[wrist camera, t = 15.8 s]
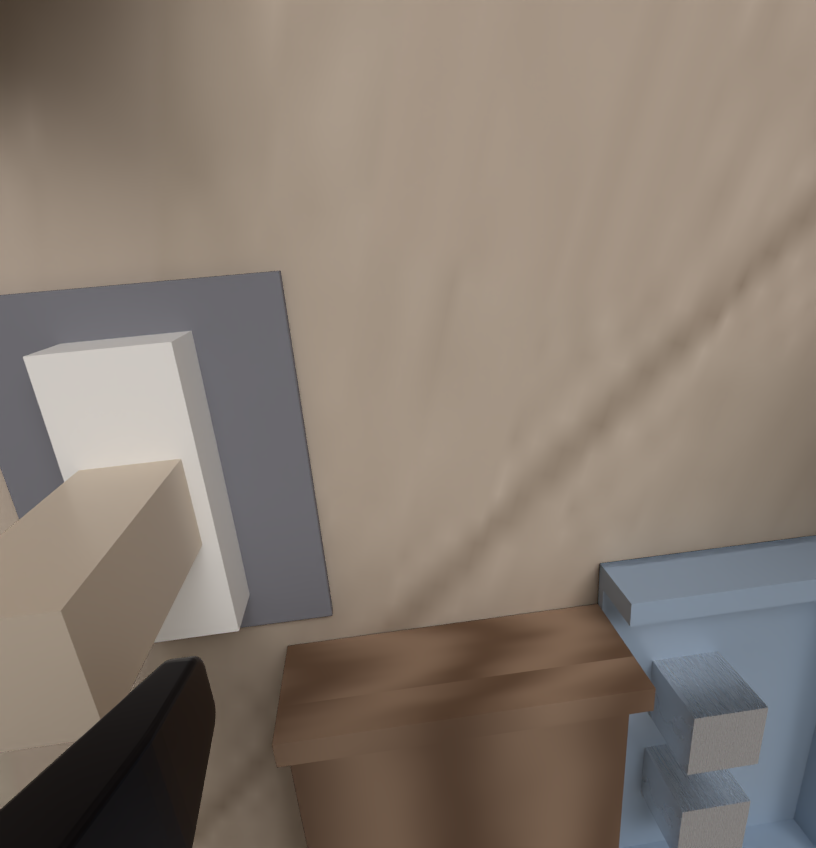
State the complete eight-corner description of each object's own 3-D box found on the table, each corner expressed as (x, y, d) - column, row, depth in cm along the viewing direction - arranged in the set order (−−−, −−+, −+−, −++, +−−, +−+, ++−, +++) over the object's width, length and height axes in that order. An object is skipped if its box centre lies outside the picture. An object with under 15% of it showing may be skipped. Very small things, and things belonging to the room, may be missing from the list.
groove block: (598, 603, 22) (655, 688, 18) (587, 831, 27) (631, 940, 23) (287, 645, 21) (271, 745, 17) (331, 873, 26) (327, 996, 22)
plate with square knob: (191, 330, 17) (25, 420, 8) (249, 594, 20) (174, 853, 12) (60, 343, 16) (-251, 450, 8) (141, 608, 20) (-18, 884, 11)
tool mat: (280, 270, 17) (278, 271, 16) (332, 609, 21) (332, 615, 21) (-52, 299, 16) (-61, 301, 16) (72, 642, 20) (67, 650, 20)
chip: (652, 660, 23) (718, 651, 23) (647, 712, 24) (710, 703, 24) (694, 718, 20) (768, 707, 20) (686, 775, 21) (757, 763, 21)
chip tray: (872, 527, 22) (936, 562, 20) (802, 820, 28) (844, 875, 26) (600, 563, 22) (631, 604, 19) (585, 857, 28) (608, 917, 25)
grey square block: (644, 747, 25) (705, 737, 25) (640, 792, 26) (699, 783, 26) (682, 812, 22) (750, 800, 22) (676, 860, 23) (741, 849, 23)
